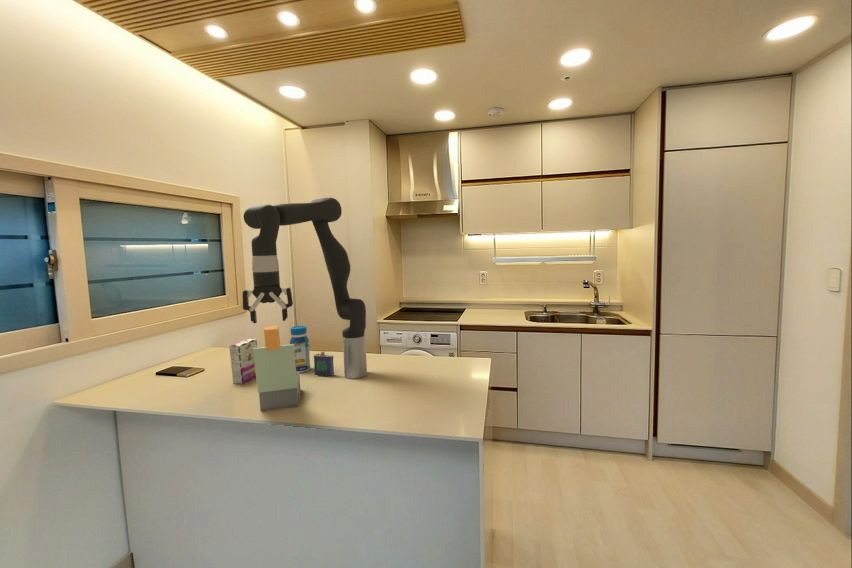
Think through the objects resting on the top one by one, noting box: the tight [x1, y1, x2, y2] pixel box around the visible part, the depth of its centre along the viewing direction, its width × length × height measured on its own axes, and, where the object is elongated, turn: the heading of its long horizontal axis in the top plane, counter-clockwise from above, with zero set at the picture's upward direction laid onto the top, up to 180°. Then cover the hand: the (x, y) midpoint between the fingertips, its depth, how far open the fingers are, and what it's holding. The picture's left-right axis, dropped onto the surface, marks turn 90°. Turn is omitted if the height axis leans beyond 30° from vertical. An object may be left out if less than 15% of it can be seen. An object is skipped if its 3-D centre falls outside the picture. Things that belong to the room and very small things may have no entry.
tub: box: [258, 372, 301, 412], centre depth 130 cm, size 12×16×7 cm
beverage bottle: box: [289, 325, 311, 374], centre depth 162 cm, size 8×8×20 cm
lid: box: [253, 325, 297, 394], centre depth 118 cm, size 12×23×4 cm
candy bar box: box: [229, 338, 258, 385], centre depth 153 cm, size 11×5×16 cm, turn 168°
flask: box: [313, 350, 335, 377], centre depth 155 cm, size 9×3×11 cm, turn 74°
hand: (269, 321), depth 113 cm, fingers open, 8 cm apart
